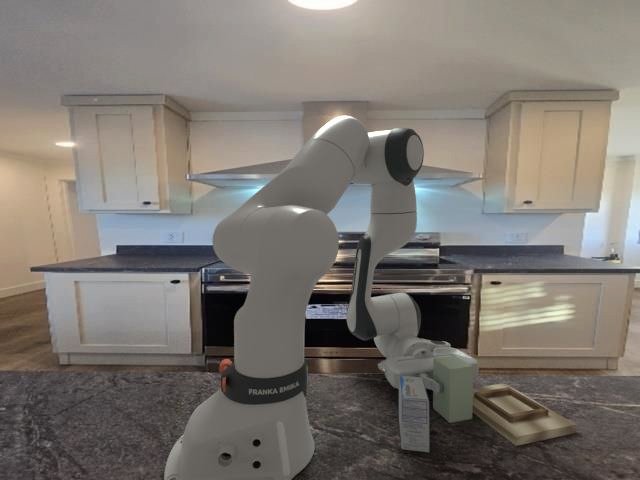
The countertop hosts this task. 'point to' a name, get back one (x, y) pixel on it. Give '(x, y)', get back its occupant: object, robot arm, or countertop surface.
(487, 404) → the birch board
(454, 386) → the sage block
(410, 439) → the medicine box
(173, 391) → the countertop surface
